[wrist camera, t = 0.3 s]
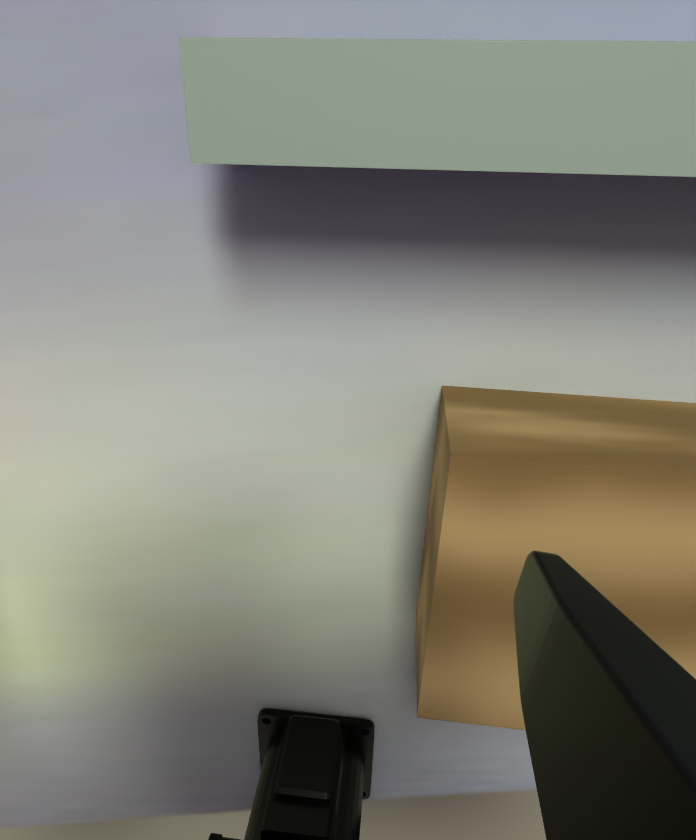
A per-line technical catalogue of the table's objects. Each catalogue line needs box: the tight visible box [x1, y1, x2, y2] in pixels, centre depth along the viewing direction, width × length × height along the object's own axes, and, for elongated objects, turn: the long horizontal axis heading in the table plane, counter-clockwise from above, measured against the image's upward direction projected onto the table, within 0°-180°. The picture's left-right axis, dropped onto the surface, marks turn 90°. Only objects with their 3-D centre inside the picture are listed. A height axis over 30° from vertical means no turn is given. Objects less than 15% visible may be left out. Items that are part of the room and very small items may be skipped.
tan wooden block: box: [416, 386, 696, 730], centre depth 22 cm, size 12×12×6 cm
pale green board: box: [179, 38, 696, 177], centre depth 16 cm, size 3×28×4 cm, turn 89°
